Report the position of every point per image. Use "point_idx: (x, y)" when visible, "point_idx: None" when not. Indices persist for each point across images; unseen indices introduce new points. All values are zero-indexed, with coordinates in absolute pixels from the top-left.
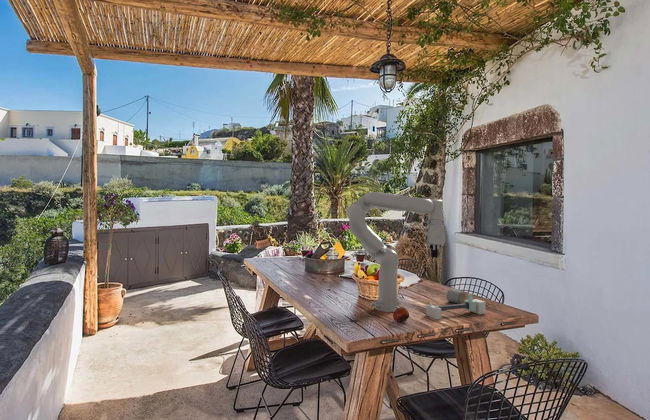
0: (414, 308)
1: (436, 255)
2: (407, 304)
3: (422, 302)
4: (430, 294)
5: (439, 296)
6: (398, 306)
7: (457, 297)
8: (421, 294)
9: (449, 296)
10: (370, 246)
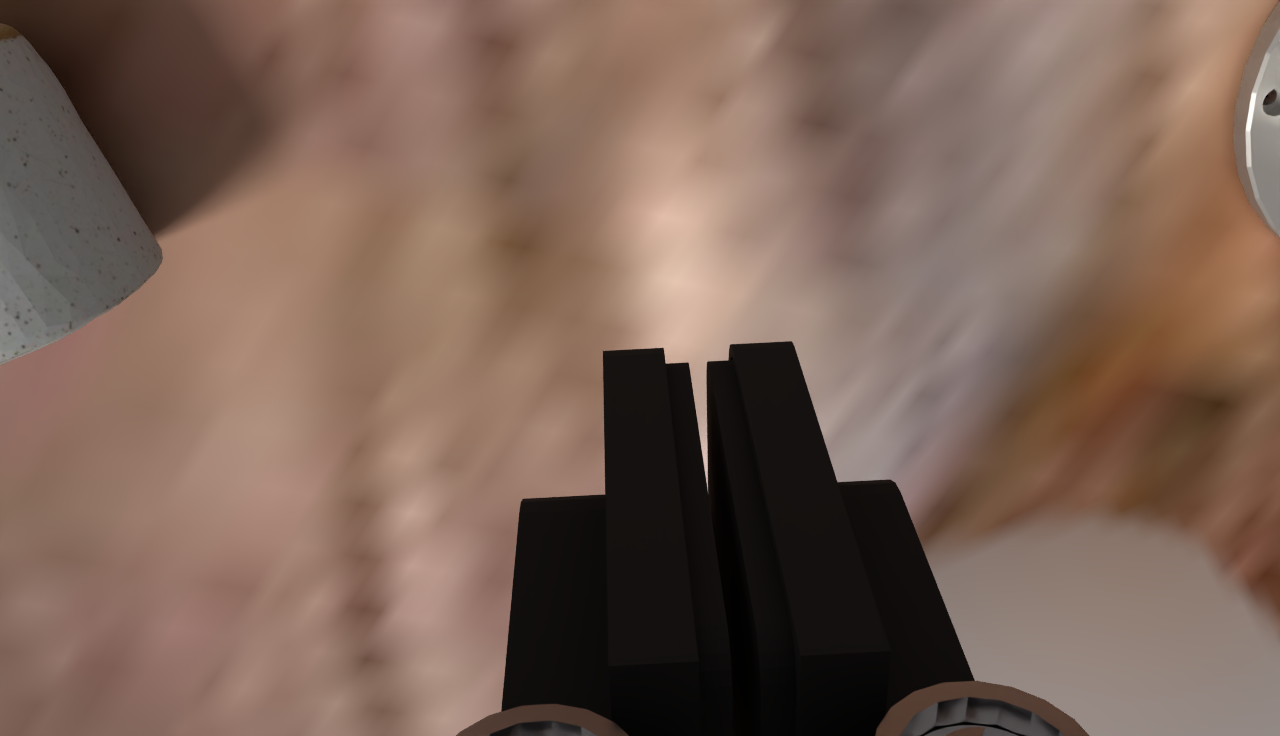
0: (975, 12)
1: (686, 416)
2: (926, 264)
3: (612, 314)
4: (229, 676)
5: (138, 559)
6: (1266, 73)
7: (6, 62)
8: (371, 699)
9: (122, 215)
10: None
